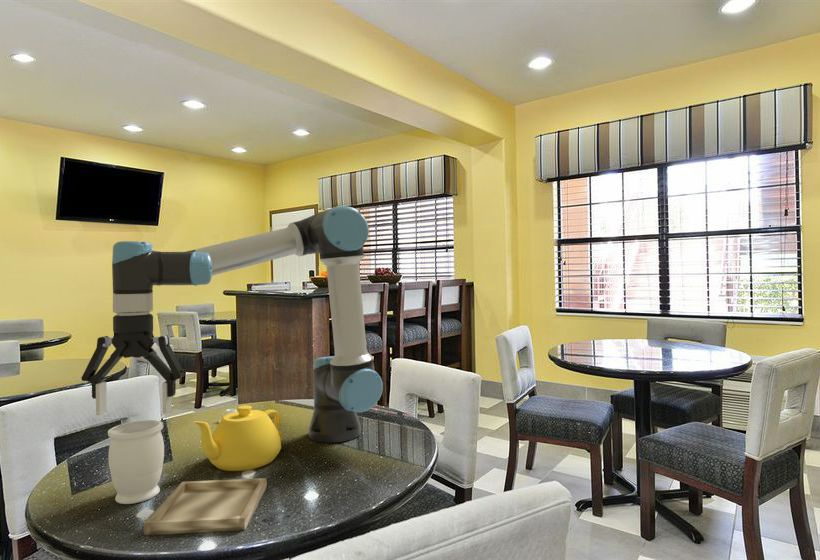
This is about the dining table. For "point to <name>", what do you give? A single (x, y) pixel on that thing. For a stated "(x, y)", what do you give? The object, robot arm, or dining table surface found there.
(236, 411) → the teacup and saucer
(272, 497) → the dining table surface
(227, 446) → the teapot
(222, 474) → the dining table surface
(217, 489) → the tray
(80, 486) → the dining table surface
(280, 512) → the dining table surface
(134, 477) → the jar
